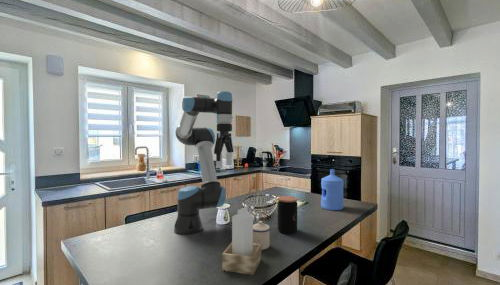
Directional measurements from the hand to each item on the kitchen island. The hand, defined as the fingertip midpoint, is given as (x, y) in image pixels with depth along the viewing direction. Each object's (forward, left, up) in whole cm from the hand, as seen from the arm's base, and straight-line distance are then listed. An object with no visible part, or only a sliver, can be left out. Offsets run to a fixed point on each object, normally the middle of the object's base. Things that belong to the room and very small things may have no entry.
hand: (224, 166), depth 126 cm
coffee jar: (+29, +21, -37) cm, 51 cm away
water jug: (+55, +76, -37) cm, 101 cm away
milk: (+16, -21, -36) cm, 45 cm away
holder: (+16, -21, -37) cm, 45 cm away
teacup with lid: (+18, -3, -37) cm, 41 cm away
